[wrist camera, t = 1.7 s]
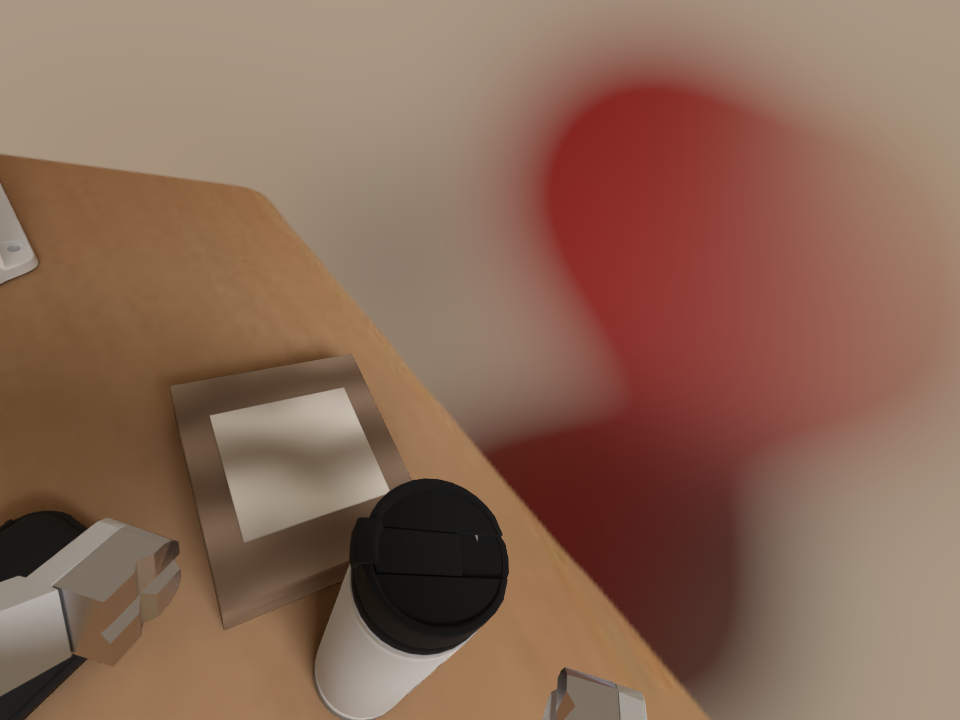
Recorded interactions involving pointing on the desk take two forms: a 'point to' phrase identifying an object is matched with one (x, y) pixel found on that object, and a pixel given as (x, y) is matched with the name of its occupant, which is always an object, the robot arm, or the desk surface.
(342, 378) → the walnut riser
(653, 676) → the desk surface
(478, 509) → the travel mug
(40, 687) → the carrying case or bag
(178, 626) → the desk surface
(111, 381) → the desk surface
